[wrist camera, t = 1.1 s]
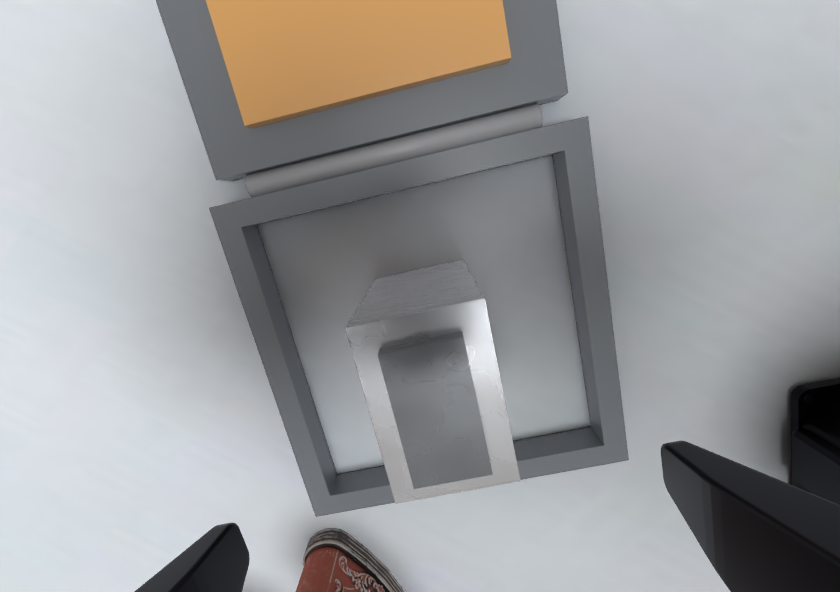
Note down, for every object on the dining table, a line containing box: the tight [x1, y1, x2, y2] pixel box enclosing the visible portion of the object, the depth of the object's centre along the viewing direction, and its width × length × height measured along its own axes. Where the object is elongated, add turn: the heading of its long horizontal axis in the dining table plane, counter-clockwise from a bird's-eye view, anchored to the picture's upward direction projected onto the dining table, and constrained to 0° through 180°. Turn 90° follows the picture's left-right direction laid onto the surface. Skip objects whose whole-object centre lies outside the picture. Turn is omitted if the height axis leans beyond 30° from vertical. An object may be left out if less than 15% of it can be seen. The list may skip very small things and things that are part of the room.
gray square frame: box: [209, 116, 629, 517], centre depth 18 cm, size 15×15×2 cm
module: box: [345, 259, 520, 503], centre depth 15 cm, size 4×6×8 cm, turn 13°
